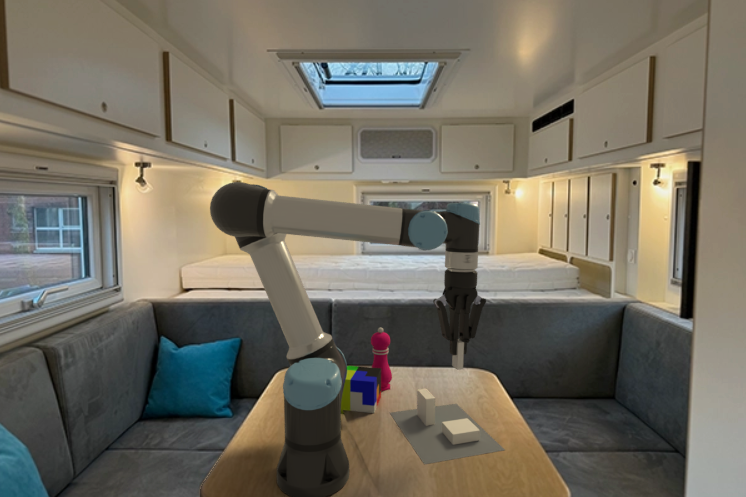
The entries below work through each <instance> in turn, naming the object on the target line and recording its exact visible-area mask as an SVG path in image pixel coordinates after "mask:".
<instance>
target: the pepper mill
mask: <svg viewBox="0 0 746 497" xmlns="http://www.w3.org/2000/svg"><path fill="white" fill-rule="evenodd" d="M370 344H371V345H372V351H371V352H372V354H373V362H372V365H371V366H370V367H371V368H381V392H385V391H389V390H390V391H391V384H390V383H391V381H392V379H393V374H392V370H391V368H390V365H389V363H388V354H389V350H390V349H389V346H390V344H391V337H390V335H389V334H388V333H387V332H385V331H384V328H383V327H378V328H377V332H375V333H373V334H372V336H370Z"/></svg>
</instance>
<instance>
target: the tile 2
mask: <svg viewBox="0 0 746 497" xmlns="http://www.w3.org/2000/svg"><path fill="white" fill-rule="evenodd" d="M442 433H443V434H444V435H445V436H446V437H447V438H448V440H449V441H450V442H451V443H452V444H453V445H454V444H460V443H467V442H473V441H479V440H480V430H479V429H478V428H477V427H476V426H475V425H474V424H473V423H472V422H471V421H470V420H469V419H468V418H466V419H459V420H452V421H445V422H442Z"/></svg>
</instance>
